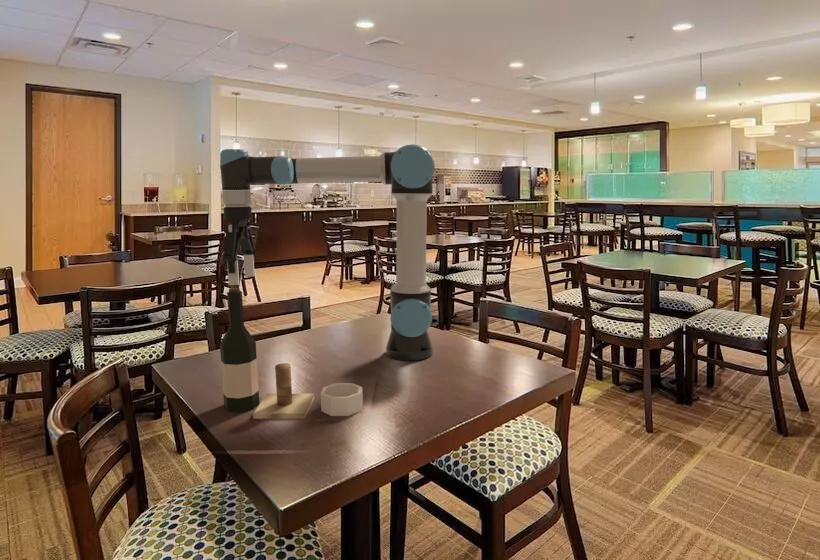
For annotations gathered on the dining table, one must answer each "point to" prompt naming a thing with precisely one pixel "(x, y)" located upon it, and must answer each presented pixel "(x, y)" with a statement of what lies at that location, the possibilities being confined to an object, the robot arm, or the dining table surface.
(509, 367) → the dining table surface
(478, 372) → the dining table surface
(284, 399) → the beech lid
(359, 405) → the bowl
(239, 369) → the wine bottle
